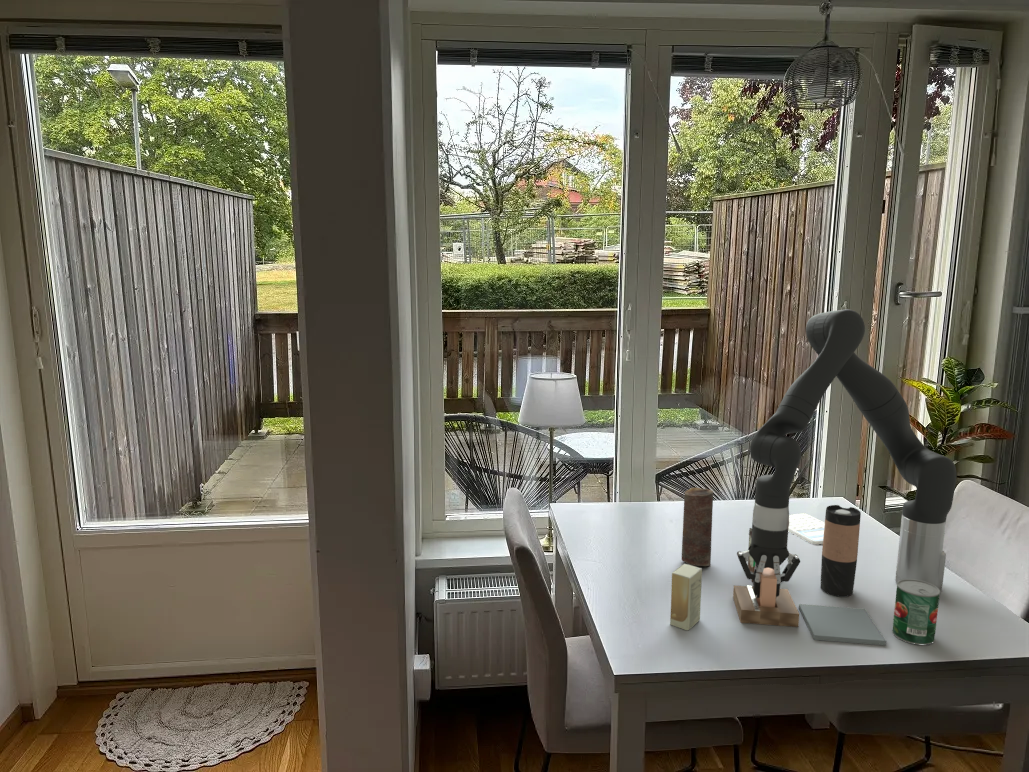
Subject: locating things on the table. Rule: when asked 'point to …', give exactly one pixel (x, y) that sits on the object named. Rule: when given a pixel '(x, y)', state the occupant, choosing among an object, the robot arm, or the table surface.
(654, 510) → the table surface
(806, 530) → the calculator
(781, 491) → the robot arm
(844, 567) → the travel mug
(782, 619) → the brown flat square frame
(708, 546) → the candle
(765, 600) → the tall peach block
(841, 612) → the mat
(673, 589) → the skincare box
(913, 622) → the canned tomato
